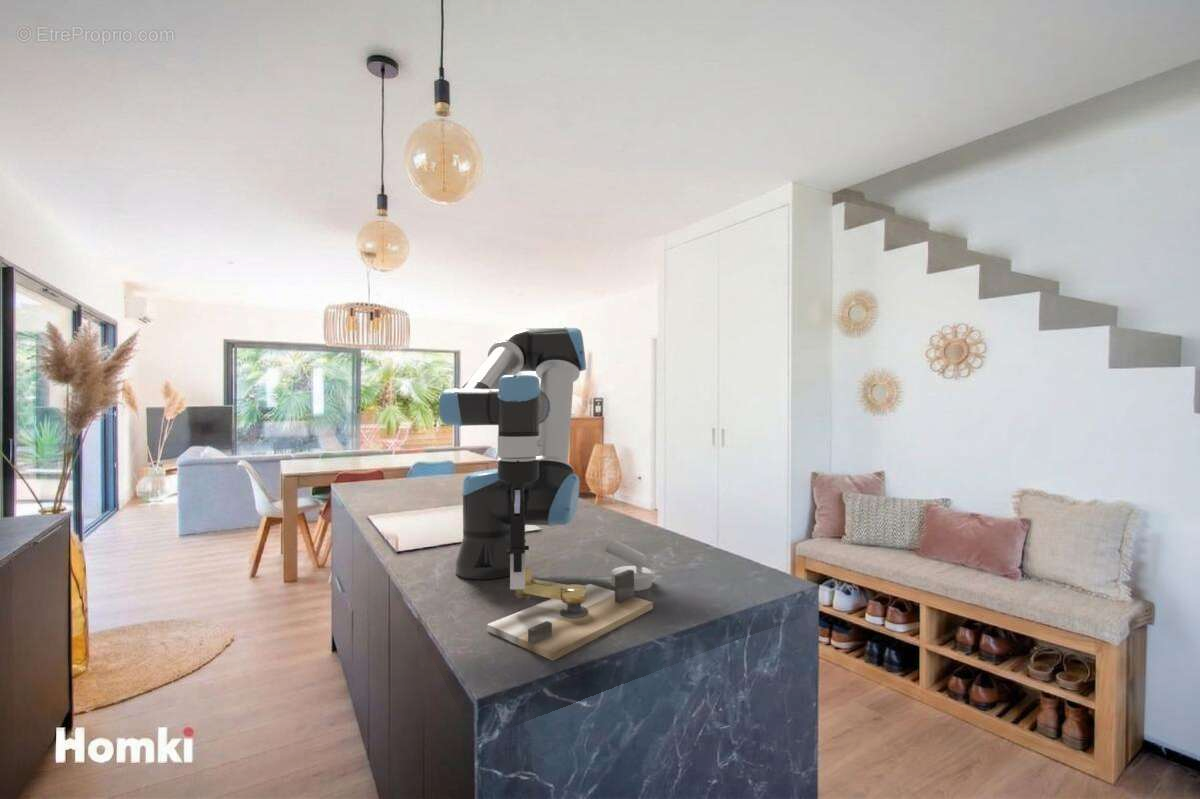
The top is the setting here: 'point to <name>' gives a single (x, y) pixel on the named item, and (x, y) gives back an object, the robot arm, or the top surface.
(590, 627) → the door plate
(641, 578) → the wall hook
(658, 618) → the top surface
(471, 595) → the top surface
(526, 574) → the latch lever
